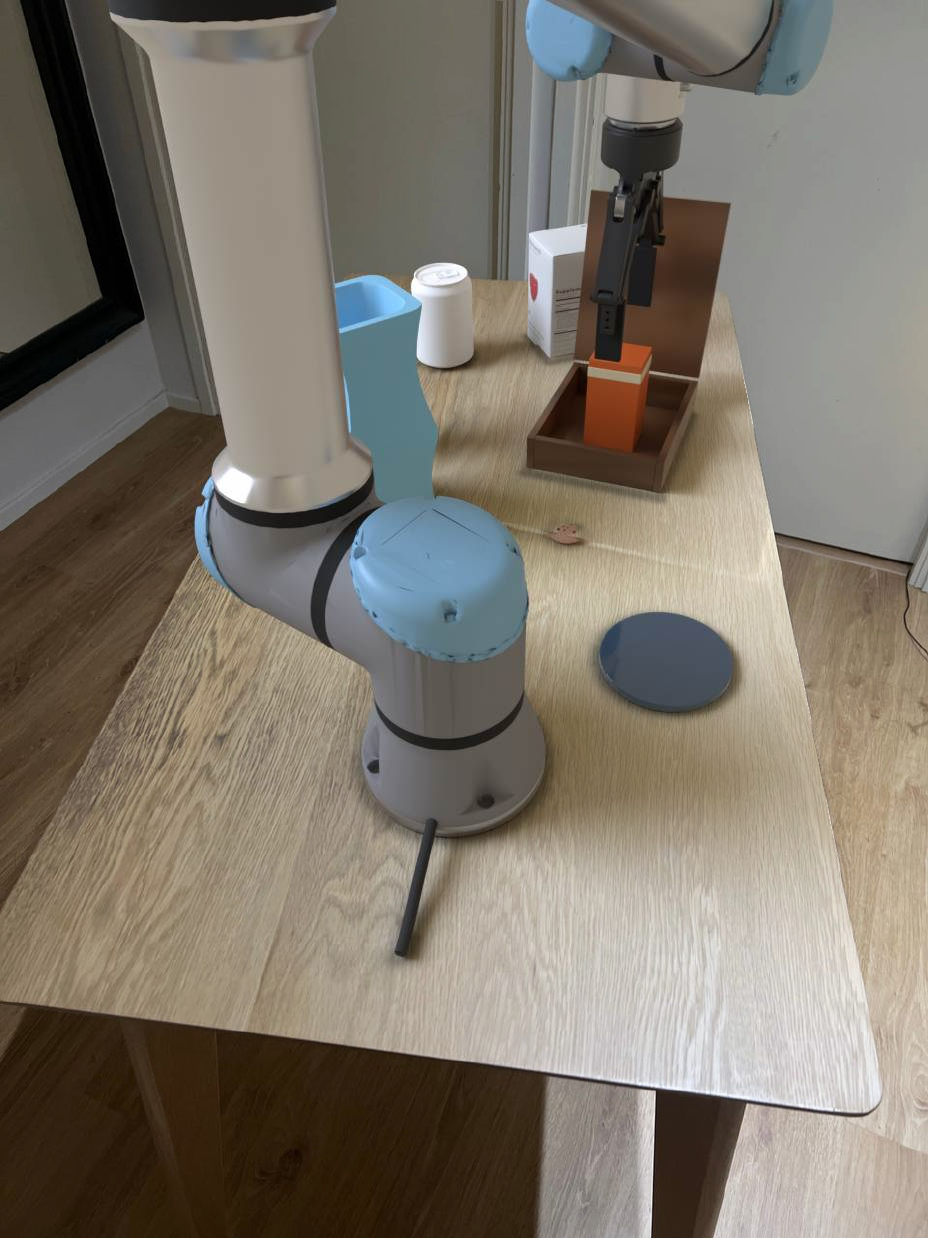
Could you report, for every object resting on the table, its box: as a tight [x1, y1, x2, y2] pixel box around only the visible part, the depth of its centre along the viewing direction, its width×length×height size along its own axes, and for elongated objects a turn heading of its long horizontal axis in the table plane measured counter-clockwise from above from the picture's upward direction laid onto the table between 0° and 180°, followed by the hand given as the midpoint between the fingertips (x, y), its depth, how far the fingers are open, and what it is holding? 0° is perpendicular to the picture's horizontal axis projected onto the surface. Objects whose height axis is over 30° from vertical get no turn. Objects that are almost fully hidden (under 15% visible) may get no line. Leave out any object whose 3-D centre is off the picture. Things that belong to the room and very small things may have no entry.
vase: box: [335, 274, 439, 504], centre depth 90 cm, size 10×10×25 cm
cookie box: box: [584, 343, 652, 452], centre depth 104 cm, size 5×6×11 cm
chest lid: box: [573, 188, 732, 379], centre depth 107 cm, size 20×16×5 cm
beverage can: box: [410, 262, 475, 369], centre depth 121 cm, size 8×8×12 cm
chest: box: [525, 361, 699, 494], centre depth 106 cm, size 19×16×5 cm
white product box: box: [527, 222, 588, 358], centre depth 122 cm, size 9×9×15 cm
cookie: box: [547, 523, 583, 545], centre depth 95 cm, size 4×4×1 cm
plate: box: [598, 611, 734, 713], centre depth 81 cm, size 12×12×1 cm
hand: (623, 330), depth 98 cm, fingers open, 13 cm apart
